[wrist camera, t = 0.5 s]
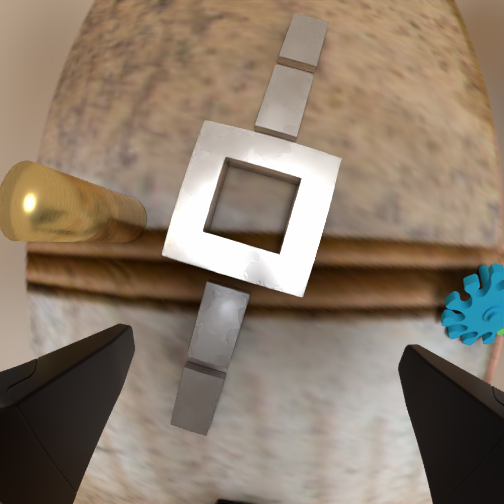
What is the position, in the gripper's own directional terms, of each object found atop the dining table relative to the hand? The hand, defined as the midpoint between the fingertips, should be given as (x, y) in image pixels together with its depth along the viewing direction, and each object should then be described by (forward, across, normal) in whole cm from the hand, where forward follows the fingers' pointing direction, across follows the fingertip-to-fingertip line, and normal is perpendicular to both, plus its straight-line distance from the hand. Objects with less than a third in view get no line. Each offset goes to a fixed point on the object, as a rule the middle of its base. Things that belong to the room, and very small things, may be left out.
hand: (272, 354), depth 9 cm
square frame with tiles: (+15, +1, -2) cm, 15 cm away
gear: (+13, -20, +4) cm, 24 cm away
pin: (+14, +11, 0) cm, 18 cm away
